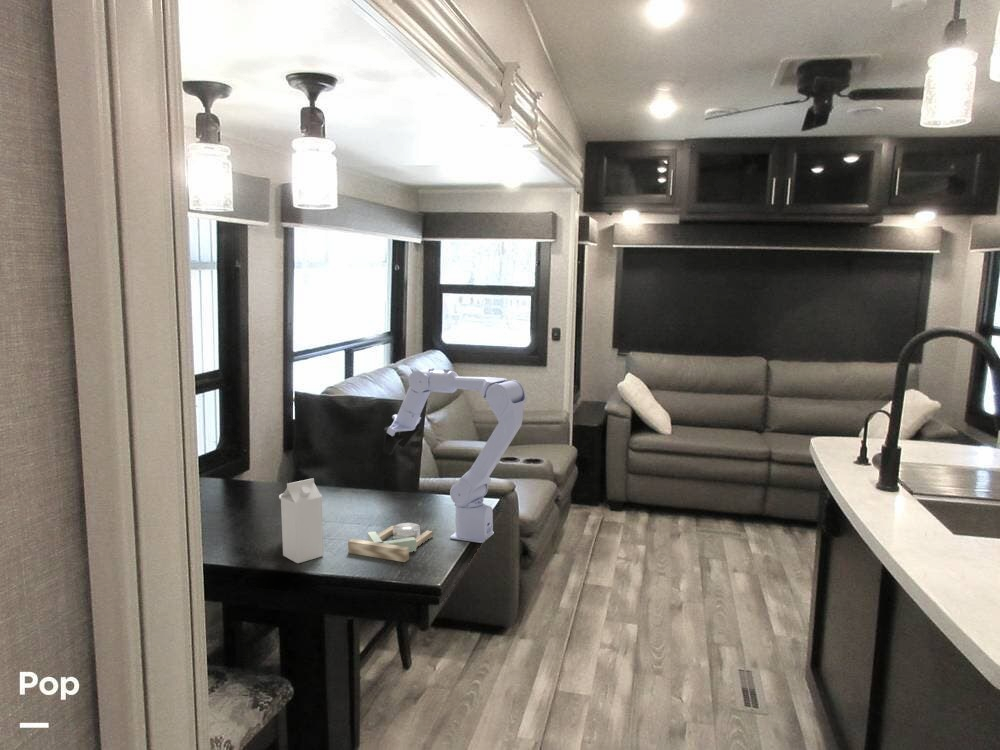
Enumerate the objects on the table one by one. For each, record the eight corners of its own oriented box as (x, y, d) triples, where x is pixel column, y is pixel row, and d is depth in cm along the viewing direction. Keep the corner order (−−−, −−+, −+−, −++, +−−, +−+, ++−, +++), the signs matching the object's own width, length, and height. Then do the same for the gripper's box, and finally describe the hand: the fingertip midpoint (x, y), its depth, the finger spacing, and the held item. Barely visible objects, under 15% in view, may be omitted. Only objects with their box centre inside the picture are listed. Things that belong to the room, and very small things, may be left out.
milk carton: (282, 556, 173) (279, 480, 171) (309, 548, 178) (306, 475, 176) (297, 564, 168) (294, 486, 166) (323, 556, 173) (321, 481, 171)
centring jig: (438, 537, 186) (438, 526, 186) (405, 562, 170) (404, 550, 169) (386, 529, 192) (385, 519, 192) (348, 552, 176) (348, 541, 175)
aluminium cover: (424, 535, 188) (424, 524, 188) (411, 544, 182) (411, 533, 182) (401, 532, 191) (401, 521, 191) (388, 540, 184) (387, 529, 184)
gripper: (412, 395, 200) (395, 435, 204) (385, 407, 187) (368, 449, 191) (433, 408, 198) (415, 447, 203) (407, 420, 185) (388, 462, 190)
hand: (393, 449), depth 197 cm, fingers open, 7 cm apart
